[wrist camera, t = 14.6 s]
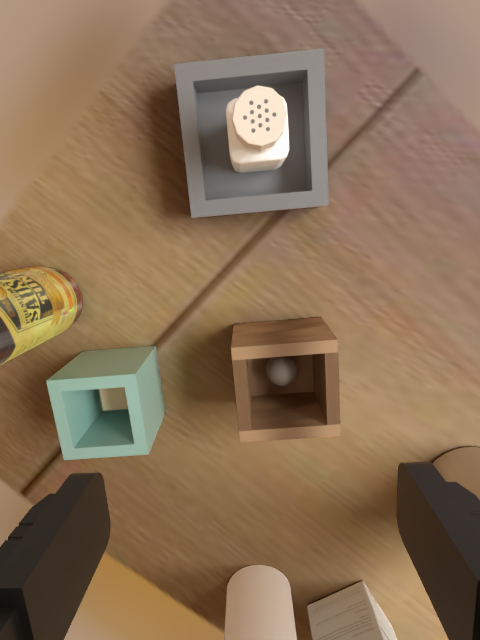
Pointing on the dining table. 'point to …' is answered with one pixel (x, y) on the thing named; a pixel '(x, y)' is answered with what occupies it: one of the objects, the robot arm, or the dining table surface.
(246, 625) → the cylindrical container
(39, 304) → the sauce bottle
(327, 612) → the supplement box
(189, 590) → the dining table surface
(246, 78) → the caddy
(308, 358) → the cubby walnut
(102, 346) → the dining table surface
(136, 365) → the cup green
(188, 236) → the dining table surface
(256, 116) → the salt shaker
